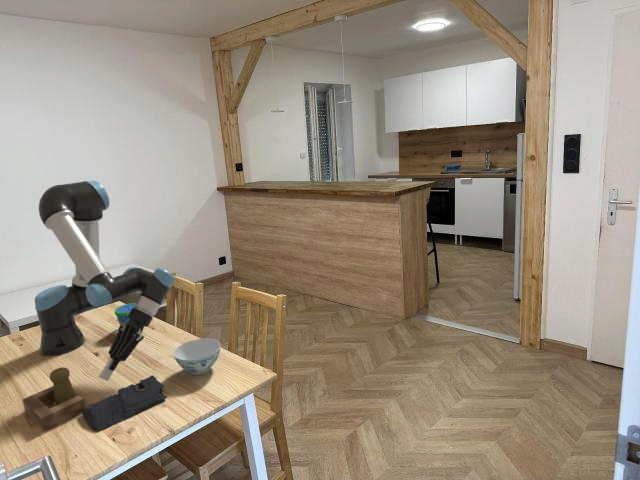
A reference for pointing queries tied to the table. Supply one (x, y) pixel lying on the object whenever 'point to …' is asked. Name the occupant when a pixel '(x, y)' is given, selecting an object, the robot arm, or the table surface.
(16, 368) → the table surface
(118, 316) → the snack cup
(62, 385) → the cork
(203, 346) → the chinaware
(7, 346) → the table surface
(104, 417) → the dark slate chunk
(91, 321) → the table surface
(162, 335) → the table surface
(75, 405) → the walnut pocket
